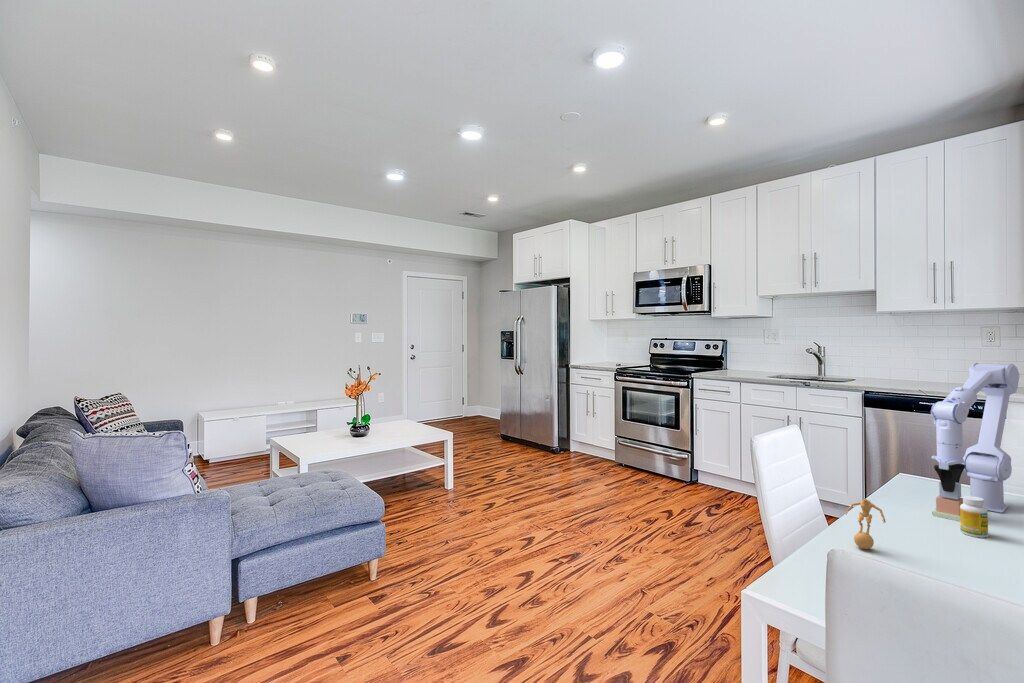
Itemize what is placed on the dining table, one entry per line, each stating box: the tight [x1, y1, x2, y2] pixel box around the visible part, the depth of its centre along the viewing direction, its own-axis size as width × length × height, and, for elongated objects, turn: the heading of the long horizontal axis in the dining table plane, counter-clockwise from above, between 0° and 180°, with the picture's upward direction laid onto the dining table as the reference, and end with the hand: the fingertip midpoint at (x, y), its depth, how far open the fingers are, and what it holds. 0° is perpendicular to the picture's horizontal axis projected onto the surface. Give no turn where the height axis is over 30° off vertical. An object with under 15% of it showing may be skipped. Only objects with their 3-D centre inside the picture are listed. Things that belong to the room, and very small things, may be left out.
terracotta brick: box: [935, 494, 964, 516], centre depth 142 cm, size 5×5×4 cm
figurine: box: [845, 498, 886, 550], centre depth 122 cm, size 8×6×12 cm
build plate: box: [931, 508, 960, 522], centre depth 142 cm, size 7×7×1 cm
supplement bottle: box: [959, 495, 989, 539], centre depth 129 cm, size 5×5×10 cm
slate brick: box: [938, 481, 962, 500], centre depth 142 cm, size 4×4×4 cm
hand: (950, 489), depth 142 cm, fingers closed on slate brick, 4 cm apart
